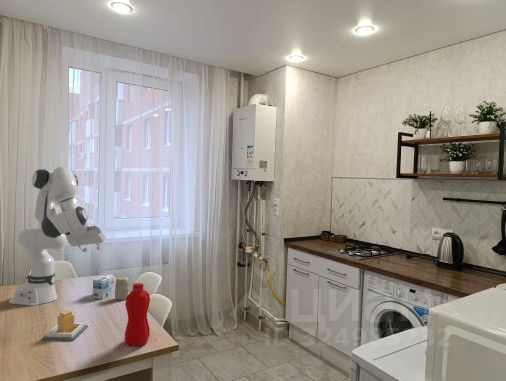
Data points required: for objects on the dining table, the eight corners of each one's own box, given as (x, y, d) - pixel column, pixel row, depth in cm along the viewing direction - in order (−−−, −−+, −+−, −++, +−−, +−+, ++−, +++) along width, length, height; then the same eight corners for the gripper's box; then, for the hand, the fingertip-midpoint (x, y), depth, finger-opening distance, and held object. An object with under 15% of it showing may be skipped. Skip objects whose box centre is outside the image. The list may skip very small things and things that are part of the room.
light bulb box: (102, 299, 192) (103, 280, 191) (92, 298, 193) (92, 279, 193) (114, 293, 202) (114, 275, 202) (104, 292, 204) (104, 274, 203)
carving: (130, 299, 194) (131, 278, 194) (117, 302, 189) (117, 280, 189) (126, 295, 199) (126, 275, 198) (113, 298, 194) (113, 277, 193)
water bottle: (152, 334, 152) (153, 279, 151) (144, 347, 141) (146, 287, 140) (131, 334, 152) (132, 278, 151) (122, 346, 141) (123, 286, 140)
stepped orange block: (57, 332, 150) (57, 312, 149) (67, 328, 154) (67, 309, 153) (63, 334, 148) (64, 315, 147) (74, 330, 152) (74, 311, 151)
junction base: (42, 340, 144) (42, 334, 144) (59, 326, 157) (59, 321, 157) (73, 340, 144) (73, 335, 144) (87, 327, 157) (87, 321, 157)
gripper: (101, 221, 171) (112, 245, 176) (69, 226, 177) (80, 248, 182) (93, 228, 165) (105, 252, 170) (60, 233, 171) (72, 255, 176)
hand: (92, 250), depth 176 cm, fingers open, 8 cm apart
